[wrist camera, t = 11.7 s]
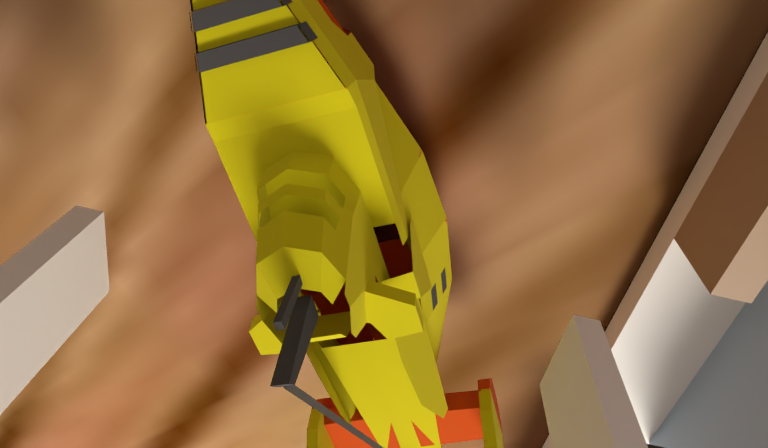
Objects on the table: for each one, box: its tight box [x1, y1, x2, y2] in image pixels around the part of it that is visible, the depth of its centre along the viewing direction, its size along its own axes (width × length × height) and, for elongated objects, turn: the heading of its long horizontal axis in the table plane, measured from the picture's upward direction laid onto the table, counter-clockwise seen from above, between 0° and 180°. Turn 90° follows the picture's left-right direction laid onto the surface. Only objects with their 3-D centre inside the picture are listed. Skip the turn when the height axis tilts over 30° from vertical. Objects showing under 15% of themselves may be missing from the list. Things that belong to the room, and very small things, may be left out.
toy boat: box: [189, 0, 503, 448], centre depth 16 cm, size 6×18×10 cm, turn 16°
